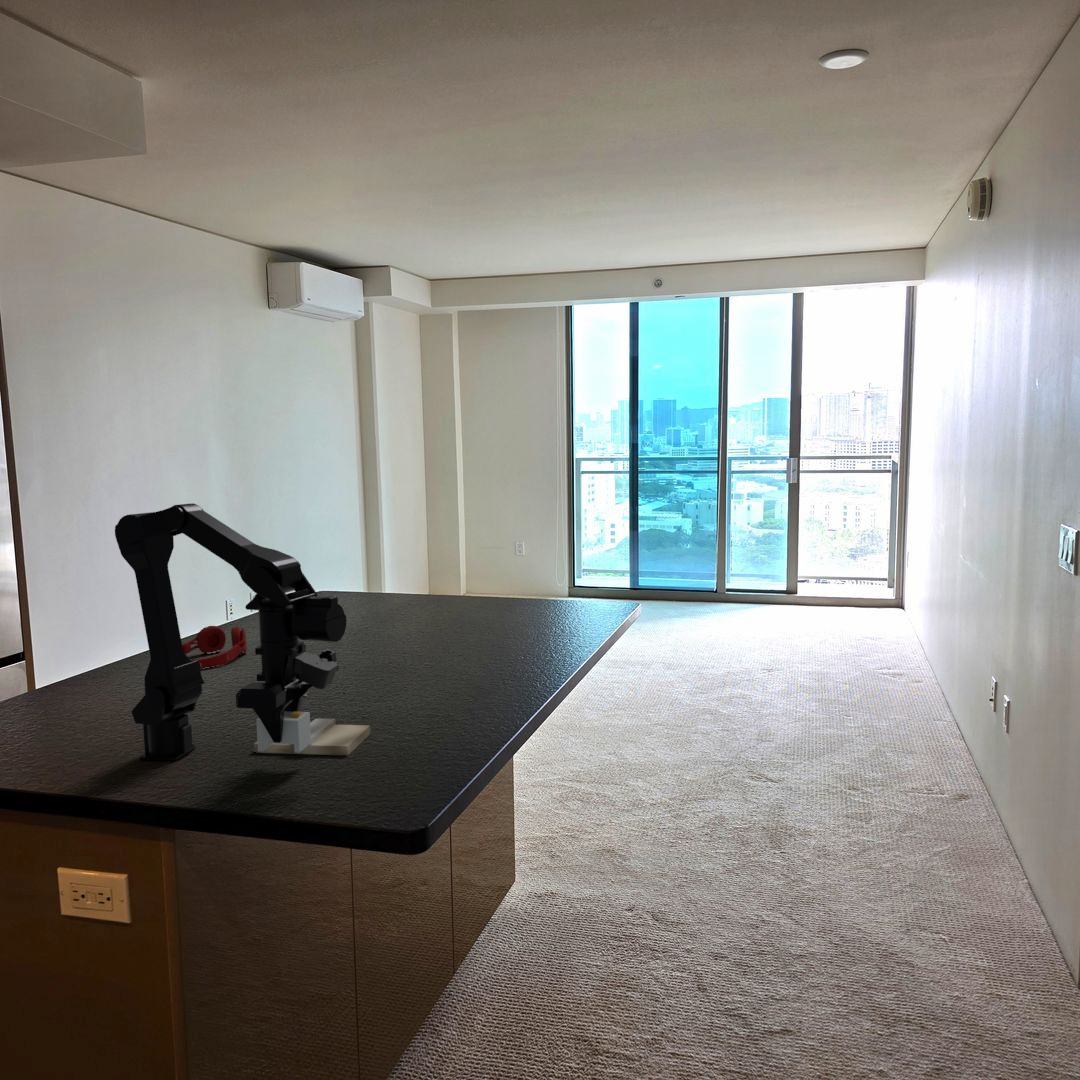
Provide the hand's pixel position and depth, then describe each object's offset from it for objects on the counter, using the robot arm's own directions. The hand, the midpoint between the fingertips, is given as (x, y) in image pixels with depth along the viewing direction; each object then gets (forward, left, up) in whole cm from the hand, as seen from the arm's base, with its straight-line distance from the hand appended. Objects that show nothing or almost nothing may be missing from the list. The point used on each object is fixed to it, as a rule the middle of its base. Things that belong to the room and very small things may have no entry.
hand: (284, 737), depth 140 cm
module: (0, 0, -2) cm, 2 cm away
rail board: (0, +11, -5) cm, 12 cm away
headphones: (-49, +68, -5) cm, 84 cm away
